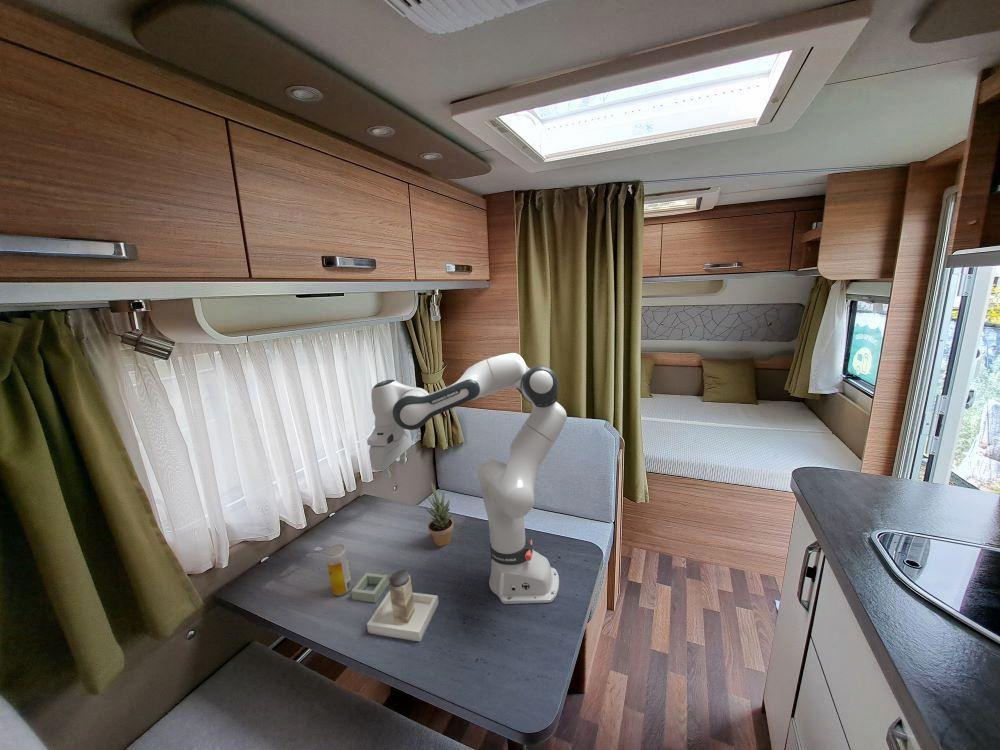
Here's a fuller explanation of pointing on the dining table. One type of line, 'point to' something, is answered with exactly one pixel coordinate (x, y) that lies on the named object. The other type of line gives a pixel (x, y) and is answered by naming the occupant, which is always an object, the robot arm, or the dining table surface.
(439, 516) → the potted plant
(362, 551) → the dining table surface
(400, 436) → the robot arm
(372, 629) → the tray
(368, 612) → the dining table surface
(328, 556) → the orange pill bottle
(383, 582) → the socket block
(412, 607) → the wooden pepper mill
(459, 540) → the dining table surface
